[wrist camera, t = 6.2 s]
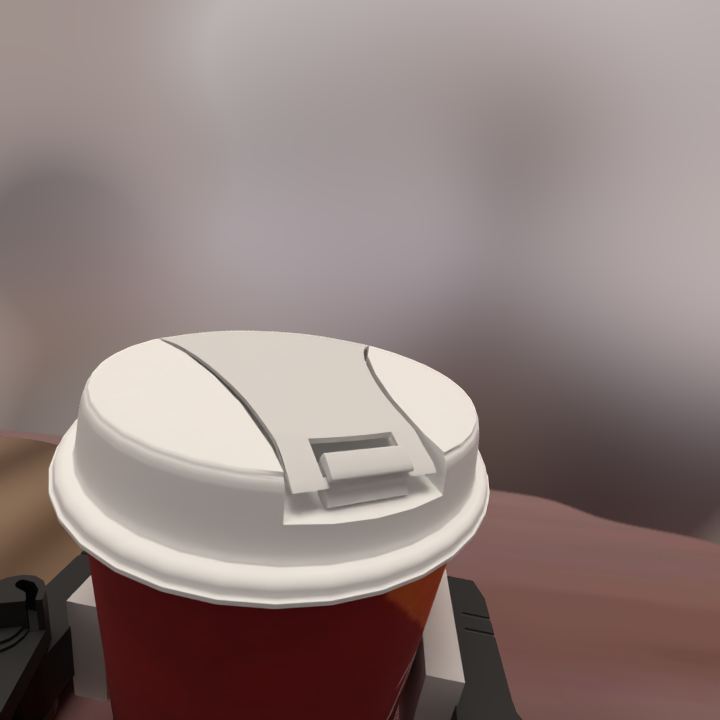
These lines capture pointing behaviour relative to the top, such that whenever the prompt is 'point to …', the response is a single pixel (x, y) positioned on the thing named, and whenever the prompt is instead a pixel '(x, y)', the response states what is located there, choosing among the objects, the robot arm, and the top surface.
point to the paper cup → (266, 521)
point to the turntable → (30, 513)
